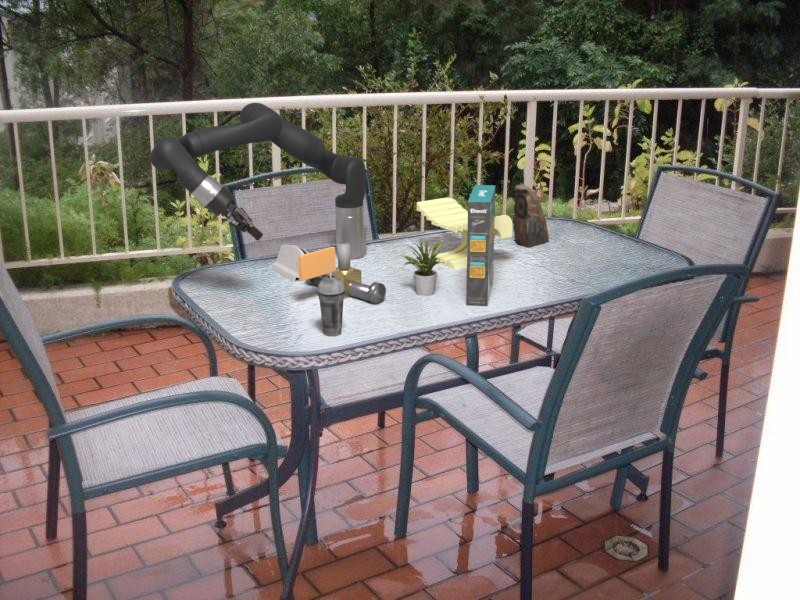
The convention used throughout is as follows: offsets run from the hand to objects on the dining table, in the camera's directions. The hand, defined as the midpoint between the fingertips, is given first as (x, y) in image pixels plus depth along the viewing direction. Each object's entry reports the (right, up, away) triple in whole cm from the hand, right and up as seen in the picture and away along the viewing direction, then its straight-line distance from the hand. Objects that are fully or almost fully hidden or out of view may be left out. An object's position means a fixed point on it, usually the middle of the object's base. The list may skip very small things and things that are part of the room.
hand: (260, 237), depth 258 cm
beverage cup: (+21, -26, -16) cm, 37 cm away
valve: (+23, -15, +15) cm, 31 cm away
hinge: (+5, -9, +34) cm, 36 cm away
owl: (+85, +3, +66) cm, 107 cm away
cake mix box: (+62, -16, +14) cm, 66 cm away
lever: (+17, -10, +7) cm, 21 cm away
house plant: (+47, -15, +16) cm, 52 cm away
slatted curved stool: (+59, -5, +46) cm, 75 cm away
